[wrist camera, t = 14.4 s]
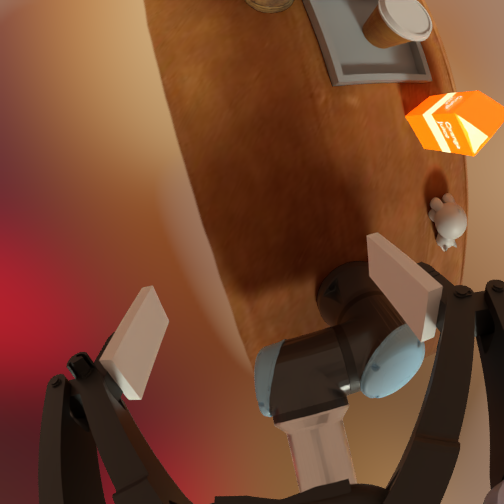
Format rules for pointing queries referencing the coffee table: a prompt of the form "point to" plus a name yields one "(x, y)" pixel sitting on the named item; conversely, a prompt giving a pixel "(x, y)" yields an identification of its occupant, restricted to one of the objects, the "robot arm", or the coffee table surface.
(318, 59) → the coffee table surface
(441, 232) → the round bodied animal figurine
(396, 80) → the tray
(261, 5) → the wooden mug
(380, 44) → the disposable coffee cup
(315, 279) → the coffee table surface
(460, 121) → the orange juice
